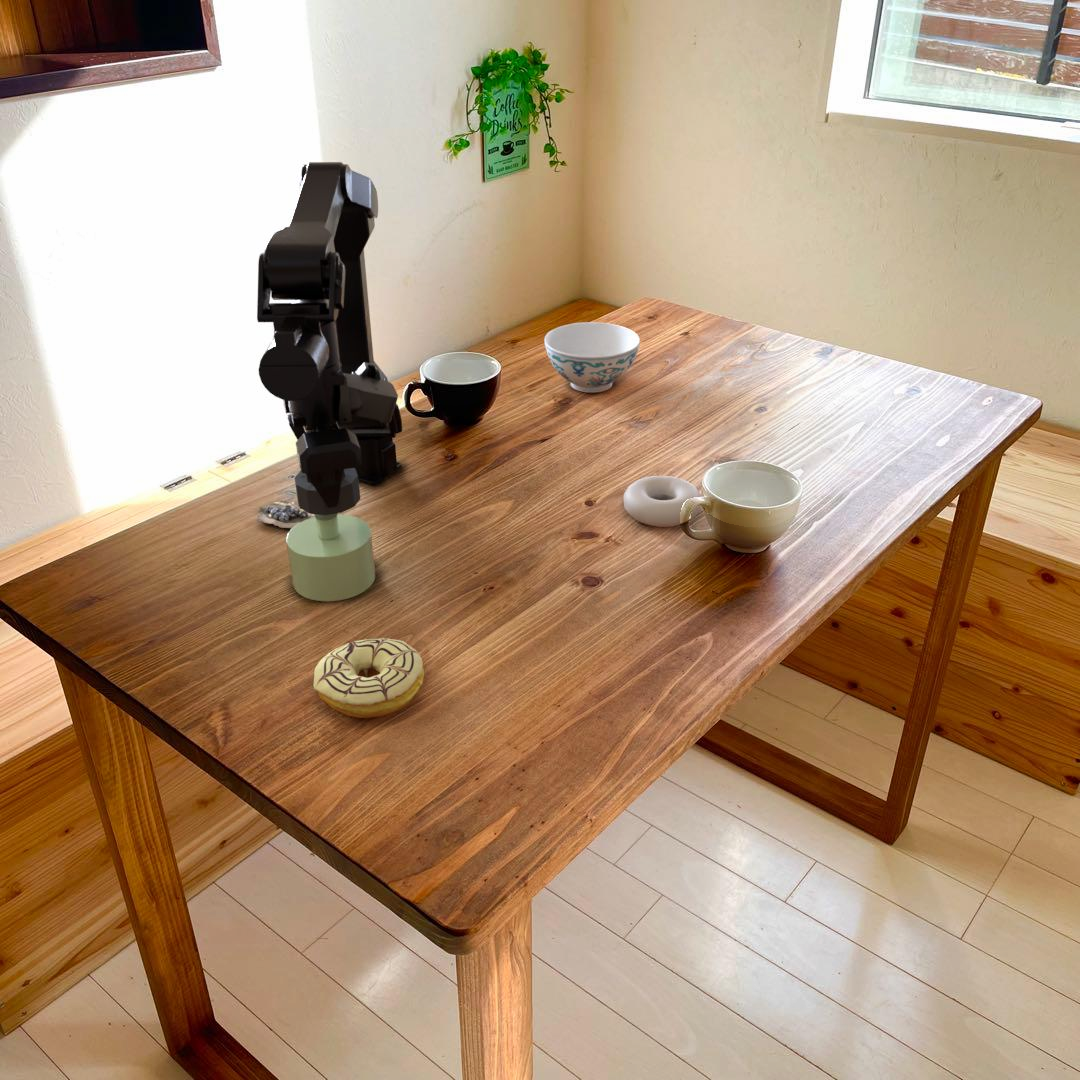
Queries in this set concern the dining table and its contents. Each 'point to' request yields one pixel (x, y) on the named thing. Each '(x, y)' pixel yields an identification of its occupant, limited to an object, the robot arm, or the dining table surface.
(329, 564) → the green cylinder with peg
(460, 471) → the dining table surface
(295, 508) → the blueberry tart
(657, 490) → the donut
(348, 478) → the rubber ring
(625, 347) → the chinaware
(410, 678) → the decorated donut
